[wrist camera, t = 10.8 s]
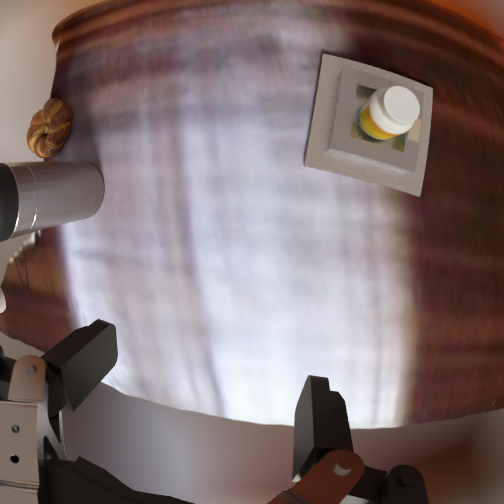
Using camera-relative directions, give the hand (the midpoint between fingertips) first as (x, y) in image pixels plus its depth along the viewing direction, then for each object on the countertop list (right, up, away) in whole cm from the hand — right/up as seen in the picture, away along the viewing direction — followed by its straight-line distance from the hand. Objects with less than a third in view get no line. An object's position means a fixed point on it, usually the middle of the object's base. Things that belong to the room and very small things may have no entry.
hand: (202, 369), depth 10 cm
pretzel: (-34, +27, +28) cm, 51 cm away
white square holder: (+18, +21, +21) cm, 35 cm away
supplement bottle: (+18, +21, +21) cm, 34 cm away
